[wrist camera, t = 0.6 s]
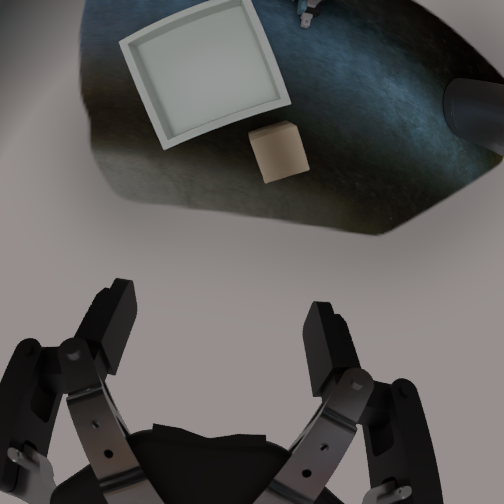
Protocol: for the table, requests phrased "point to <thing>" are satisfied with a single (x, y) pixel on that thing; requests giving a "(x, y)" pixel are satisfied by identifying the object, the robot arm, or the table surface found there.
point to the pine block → (278, 150)
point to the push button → (308, 10)
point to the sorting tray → (204, 69)
